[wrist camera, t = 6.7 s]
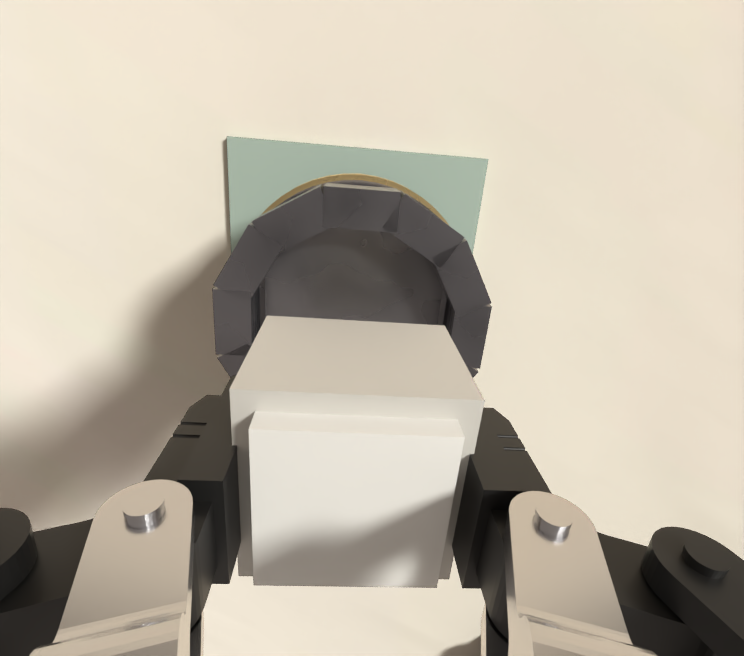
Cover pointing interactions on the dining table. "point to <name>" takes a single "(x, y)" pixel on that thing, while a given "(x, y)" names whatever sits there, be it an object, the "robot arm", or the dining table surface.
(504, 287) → the dining table surface
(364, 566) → the white stepped cube
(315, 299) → the grey faceted ring
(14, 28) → the dining table surface
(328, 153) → the mat
